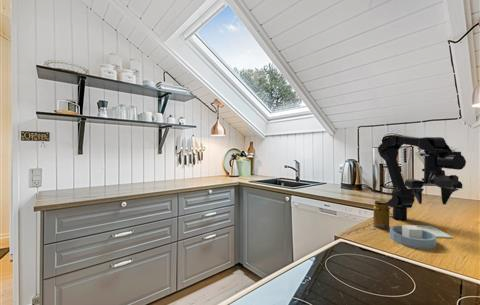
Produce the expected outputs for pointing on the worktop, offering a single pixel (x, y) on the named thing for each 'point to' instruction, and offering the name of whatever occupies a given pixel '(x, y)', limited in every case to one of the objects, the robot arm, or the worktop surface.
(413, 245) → the bowl
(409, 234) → the white matte cube
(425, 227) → the tray
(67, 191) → the worktop surface
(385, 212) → the condiment
